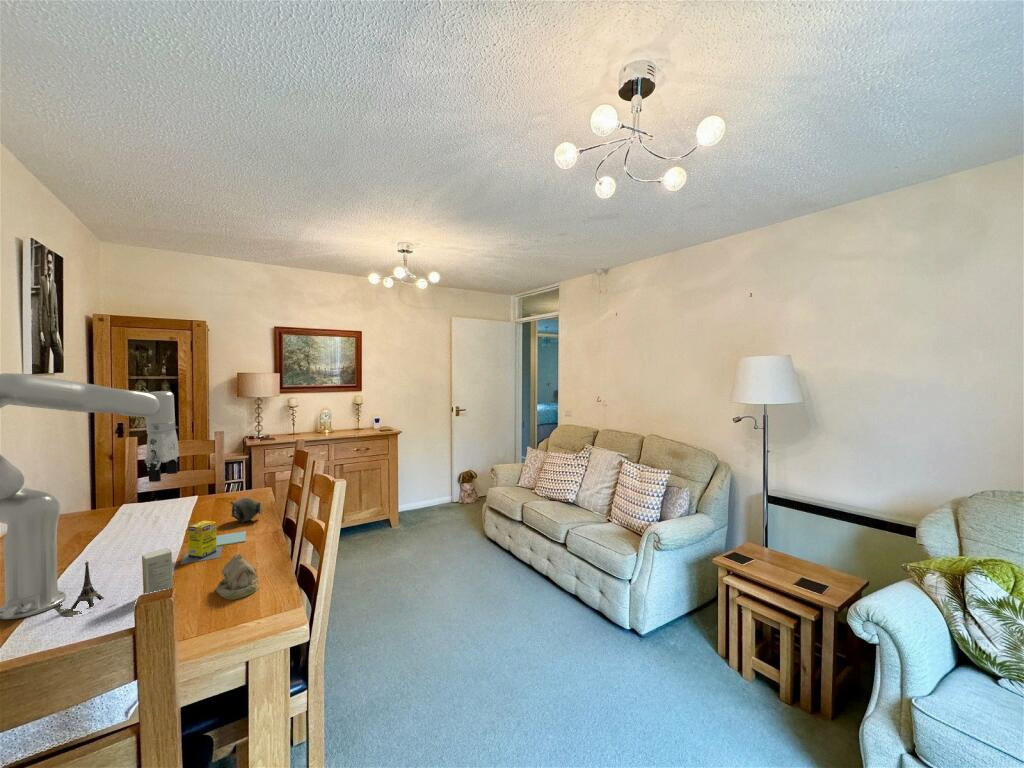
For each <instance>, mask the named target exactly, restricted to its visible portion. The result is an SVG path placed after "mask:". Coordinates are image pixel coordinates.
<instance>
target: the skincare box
mask: <svg viewBox="0 0 1024 768" xmlns="http://www.w3.org/2000/svg"><path fill="white" fill-rule="evenodd" d="M172 554H173V553H172V551H171V549H170V548H168V547H167V548H163V549H160V550H156V551H152V552H148V553H144V554H142V555H141V562H142V563H141V565H142V566H141V569H142V570H141V571H142V590H143V595H144V594H145V593H150V592H154V591H159V590H163V589H168V588H172V589H173V590H174V581H173V580H174V578H173V577H174V575H173V555H172Z"/></svg>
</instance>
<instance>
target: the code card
mask: <svg viewBox="0 0 1024 768" xmlns="http://www.w3.org/2000/svg"><path fill="white" fill-rule="evenodd" d="M223 546H224V545H222V546H216V552H215V553H212V554H210V555H208V556H206V557H204V558H193V557H188V551H185V552H184V555H183V557H182V560H181V562H180V565H186V564H192V563H196V562H197V563H198V562H203V561H209V560H215V559H220V558H221V556H222V551H223Z"/></svg>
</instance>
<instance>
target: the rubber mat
mask: <svg viewBox="0 0 1024 768" xmlns="http://www.w3.org/2000/svg"><path fill="white" fill-rule="evenodd" d="M246 538H247V530H244V531H239V532H233V533H226V534H225V533H224V534H219V535H217V534H216V547H220V546H227V545H233V544H238V543H245V542H246Z"/></svg>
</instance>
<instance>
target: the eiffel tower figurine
mask: <svg viewBox="0 0 1024 768" xmlns="http://www.w3.org/2000/svg"><path fill="white" fill-rule="evenodd" d="M84 564H85V565H84V566H85V568H84V569H85V571H84V581H83V584H82V585H83V586H82V587H81V588H82V589H81V592H80V594H79V595H78V596H77V599H76V601H75V602H74V604H72V606H71V607H70V608H71V609H68V608H62V606H64V605H62V604H61V605H60V604H59V605H57V606H55V607H53V609H54V610H56V611H57V612H58V613H59V614H60V615H61V616H62V617H63V618H64V617H72V618H74V617H73V615H78V612H79V614H82V613H81V612H82V611H81V612H80V611H73V609H75V608H76V606H77V604H78V603H79V602H80V601H87V602H88V604H89V608H88V609H91V608H90V607H93V606H94V603H93V599H95V598H96V599H99V600H101V599H103V600H105V599H104V598H105V597H104V596H102V595H101V594H100V593H98V590H95V588H94V586H93V584H92V582H91V577H90V567H89V564H90V563H89V561H86V562H84ZM94 607H95V606H94ZM94 607H93V608H94ZM64 609H65V610H64Z"/></svg>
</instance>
